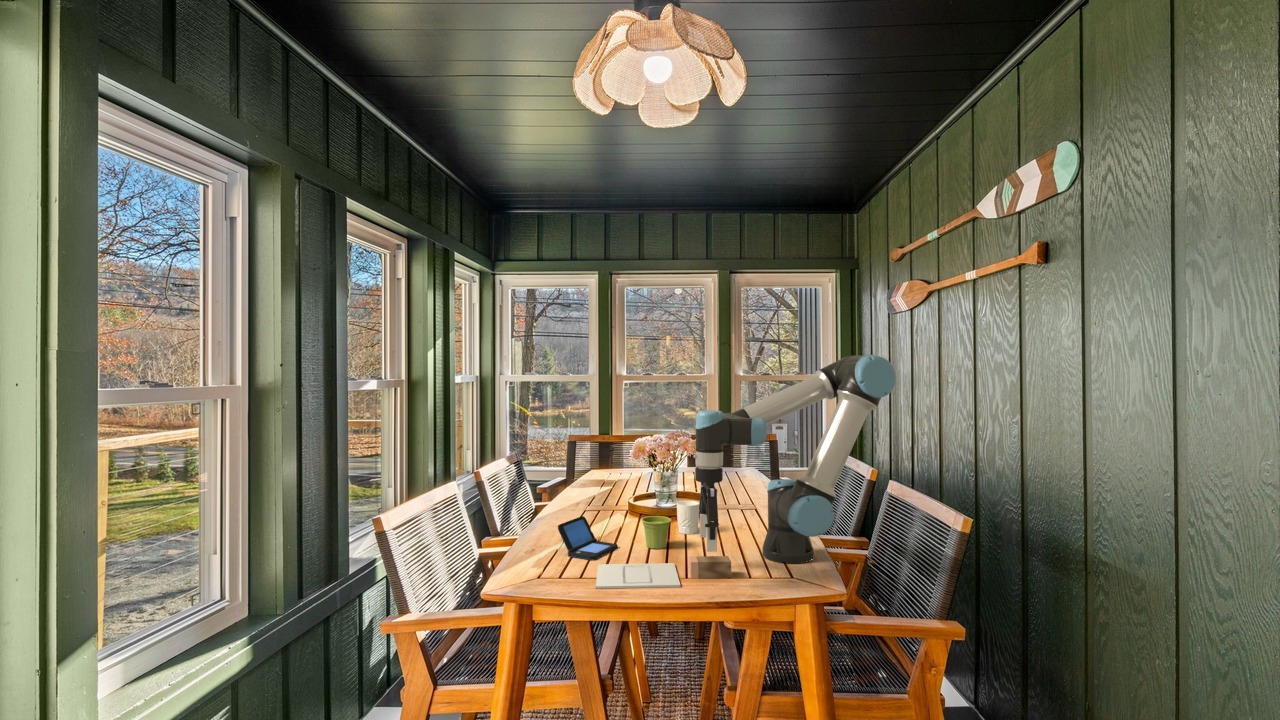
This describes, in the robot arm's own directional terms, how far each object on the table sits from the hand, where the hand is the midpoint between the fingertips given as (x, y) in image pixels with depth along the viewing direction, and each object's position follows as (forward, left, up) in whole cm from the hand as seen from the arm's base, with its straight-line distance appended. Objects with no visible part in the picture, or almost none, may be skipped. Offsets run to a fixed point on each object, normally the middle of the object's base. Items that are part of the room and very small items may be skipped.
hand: (707, 544), depth 176 cm
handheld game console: (+34, -24, -9) cm, 43 cm away
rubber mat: (+20, 0, -9) cm, 21 cm away
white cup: (+1, -45, -9) cm, 46 cm away
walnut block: (0, 0, -9) cm, 9 cm away
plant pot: (+13, -28, -9) cm, 32 cm away
